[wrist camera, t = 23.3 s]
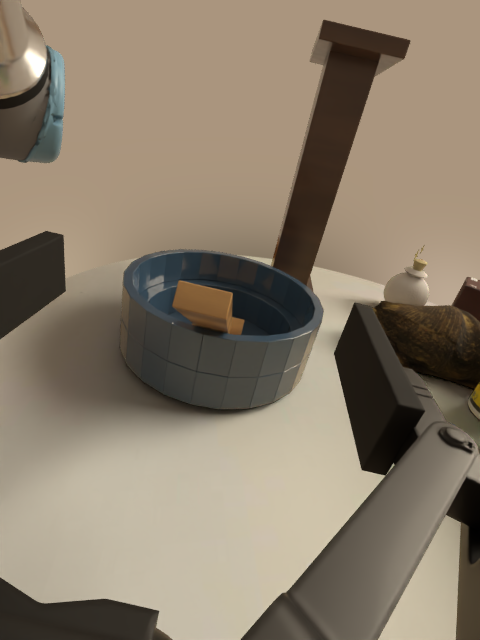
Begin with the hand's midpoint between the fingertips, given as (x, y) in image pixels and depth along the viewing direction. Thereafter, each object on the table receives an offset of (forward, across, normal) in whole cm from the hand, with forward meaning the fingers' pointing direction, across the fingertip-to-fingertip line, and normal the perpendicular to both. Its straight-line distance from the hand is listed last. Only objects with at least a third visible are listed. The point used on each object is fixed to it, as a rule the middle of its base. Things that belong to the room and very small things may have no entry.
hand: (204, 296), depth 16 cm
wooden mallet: (+8, 0, -6) cm, 10 cm away
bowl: (+15, 0, -13) cm, 20 cm away
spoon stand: (+32, +7, -13) cm, 36 cm away
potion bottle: (+37, +25, -13) cm, 46 cm away
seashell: (+22, +25, -13) cm, 36 cm away
